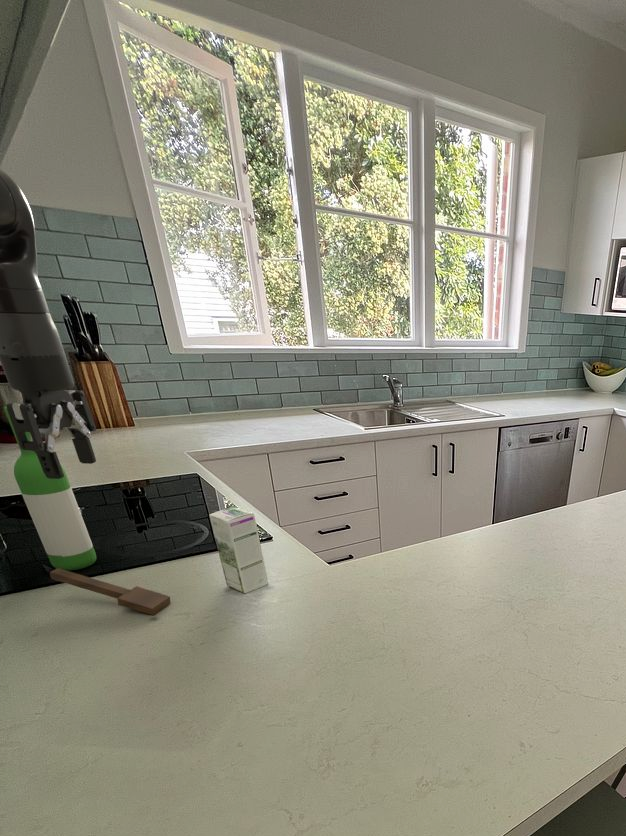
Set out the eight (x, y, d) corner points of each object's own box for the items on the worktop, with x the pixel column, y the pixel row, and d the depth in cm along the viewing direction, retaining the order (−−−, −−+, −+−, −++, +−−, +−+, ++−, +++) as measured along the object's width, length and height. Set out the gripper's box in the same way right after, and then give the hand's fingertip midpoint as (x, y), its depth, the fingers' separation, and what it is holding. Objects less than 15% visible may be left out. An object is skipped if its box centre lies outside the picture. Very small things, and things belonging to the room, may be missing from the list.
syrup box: (270, 584, 106) (256, 511, 98) (243, 594, 101) (226, 520, 94) (251, 576, 108) (236, 505, 101) (225, 586, 104) (207, 513, 96)
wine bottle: (70, 556, 114) (9, 402, 98) (106, 557, 114) (51, 403, 98) (43, 571, 107) (-27, 409, 91) (82, 573, 107) (18, 411, 91)
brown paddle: (43, 582, 94) (42, 575, 93) (66, 571, 98) (64, 564, 98) (153, 615, 94) (152, 608, 93) (170, 602, 98) (170, 596, 97)
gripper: (35, 345, 80) (74, 458, 89) (-38, 353, 68) (15, 482, 76) (88, 348, 80) (122, 459, 89) (25, 356, 68) (71, 484, 77)
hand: (72, 470), depth 83 cm, fingers open, 8 cm apart
